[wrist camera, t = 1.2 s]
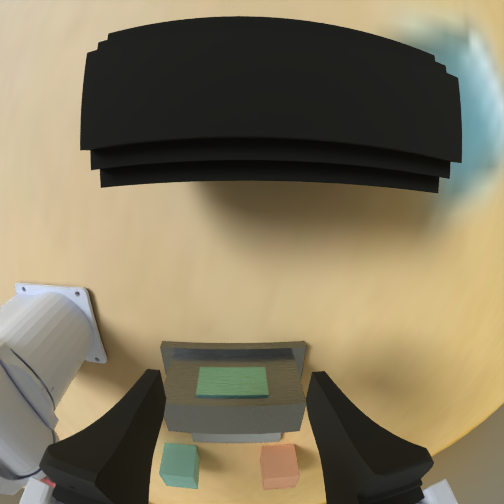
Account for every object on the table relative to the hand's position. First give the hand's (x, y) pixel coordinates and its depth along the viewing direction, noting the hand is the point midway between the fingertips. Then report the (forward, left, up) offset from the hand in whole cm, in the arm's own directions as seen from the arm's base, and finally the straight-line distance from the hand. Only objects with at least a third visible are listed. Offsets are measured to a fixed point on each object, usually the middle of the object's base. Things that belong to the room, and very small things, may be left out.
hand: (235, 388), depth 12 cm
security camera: (+3, +13, -10) cm, 16 cm away
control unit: (0, -7, -10) cm, 12 cm away
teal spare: (-7, -23, -10) cm, 26 cm away
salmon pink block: (+5, -23, -10) cm, 26 cm away
